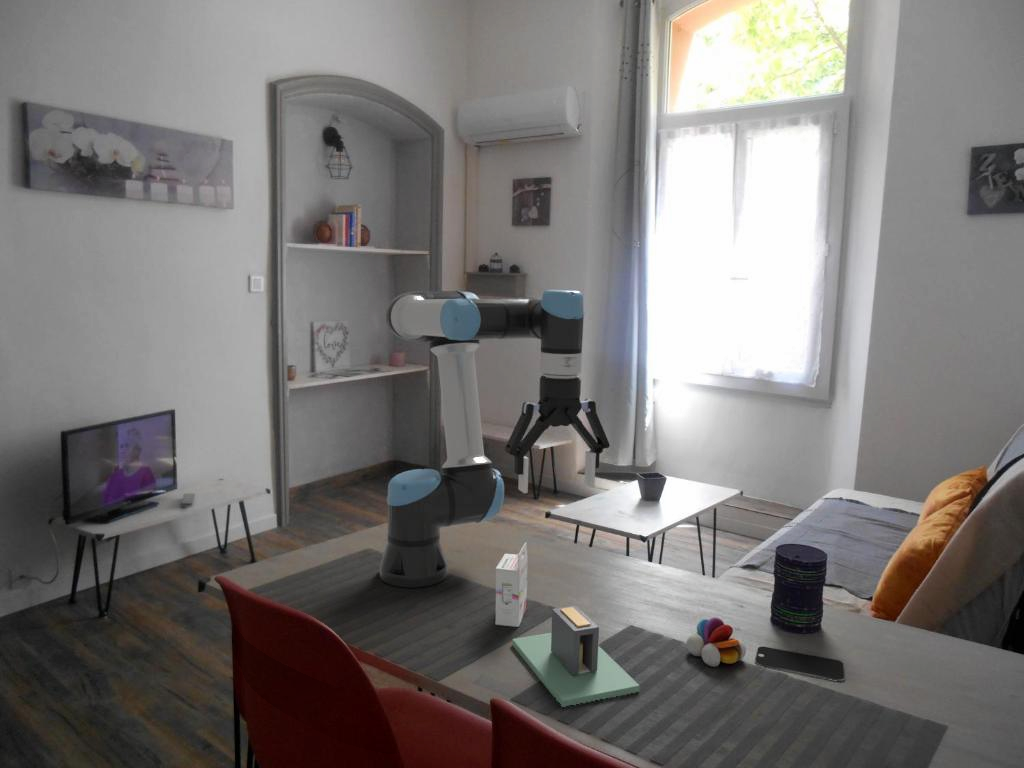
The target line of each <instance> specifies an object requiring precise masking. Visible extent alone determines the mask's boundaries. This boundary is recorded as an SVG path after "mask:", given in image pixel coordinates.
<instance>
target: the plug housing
mask: <svg viewBox="0 0 1024 768" xmlns="http://www.w3.org/2000/svg"><path fill="white" fill-rule="evenodd" d="M599 632H600V626H598V625H597V624H596V623H595V622H594V621H593V620H592V619H591V618H590V617H589V616H588V615H587V614H586V613H585V612H583V611H582V610H581V609H580V608H579V607H578V606H577V605H569V606H568V605H567V606H564V607H563V606H562V607H556V608H555V607H554V608H552V609H551V633H552V634H551V652H552V653H553V654H554V655H555V656H556V657H557V659H558V660H559V661H560V662H561V663H562V664H563V665H564V666H565V668H566V669H567V670H568V671H569V672H570V673H571V674H572V675H573V676H574V675H579V654H580V642H582V643H583V661H582V663H583V664H584V665H585V666H586V667H587V668H588V669H589V670H590V671H591V672H596V671H597V663H598V646H599V637H600V636H599Z"/></svg>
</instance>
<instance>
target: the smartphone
mask: <svg viewBox="0 0 1024 768" xmlns="http://www.w3.org/2000/svg"><path fill="white" fill-rule="evenodd" d="M756 649H757V650H756V654H755V658H754V664H755V663H756V664H757V665H756V664H755V665H756V666H758V665H759V667H761V666H764V667H763V668H766V667H768V669H771V668H772V670H776V669H777V671H781V670H782V672H787V673H792V674H796V673H797V674H796V675H801V674H804V675H803V676H806V675H808V676H807V677H811V676H815V677H814V678H816V677H820V678H819V679H821V678H825V679H824V680H826V679H832V680H837V681H843V682H845V681H844V680H846V674H845V673H846V669H845V664H844V662H842V661H841V660H839V659H838V660H837V659H833V658H828V657H824V656H817V655H813V654H812V655H811V654H807V653H801V652H800V653H799V652H796V651H790V650H783V649H780V648H775V647H774V648H773V647H769V646H768V647H767V646H759V647H757V648H756Z"/></svg>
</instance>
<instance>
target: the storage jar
mask: <svg viewBox="0 0 1024 768" xmlns="http://www.w3.org/2000/svg"><path fill="white" fill-rule="evenodd" d="M774 551H775V552H774V553H775V554H774V555H775V556H774V560H773V570H772V571H773V578H774V581H773V582H774V583H773V592H772V594H771V601H770V616H769V617H770V618H769V619H770V620H769V621H770V623H771V625H773V626H774V627H775V628H776V629H779V630H780V631H783V632H786V633H790V634H793V635H794V634H795V635H801V636H810V635H815V634H818V633H820V631H821V630H822V622H823V617H824V600H823V598H824V597H823V595H824V586H825V584H826V581H827V577H826V576H827V572H828V571H827V570H828V569H827V568H828V567H827V565H828V563H827V561H828V554H827V553H826V552H825V551H824V550H822V549H820V548H817V547H814V546H811V545H808V544H802V543H801V544H800V543H799V544H798V543H785V544H784V543H783V544H779V545H778V546H776V547H775V550H774Z"/></svg>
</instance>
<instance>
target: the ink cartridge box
mask: <svg viewBox="0 0 1024 768" xmlns="http://www.w3.org/2000/svg"><path fill="white" fill-rule="evenodd" d="M528 559H529V558H528V544H527V541H525V543H524V544H523V546H522V547H521V549H520V551H519V552H518V554H514V553H504V555H503V556H502V557H501V559H500V561H499V562H498V564H497V566H496V567H495V622H494V623H495V625H496V626H505V627H515V628H516V627H517V628H518V627H519V626H520V625H521V622H522V621H523V617H524V616H525V615H524V614H525V612H526V609H527V595H528V594H527V593H528V589H527V588H528V561H529V560H528Z"/></svg>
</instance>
